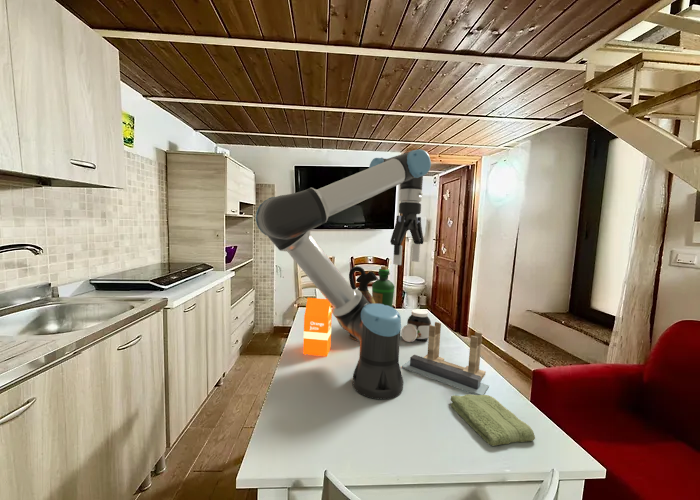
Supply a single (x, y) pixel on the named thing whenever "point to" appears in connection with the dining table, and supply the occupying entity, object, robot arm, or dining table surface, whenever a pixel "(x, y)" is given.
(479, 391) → the slate mat
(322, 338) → the orange juice
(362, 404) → the dining table surface
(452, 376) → the steel bar
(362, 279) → the ceramic jug
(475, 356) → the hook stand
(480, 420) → the washcloth
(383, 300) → the bottle
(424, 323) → the spread jar
